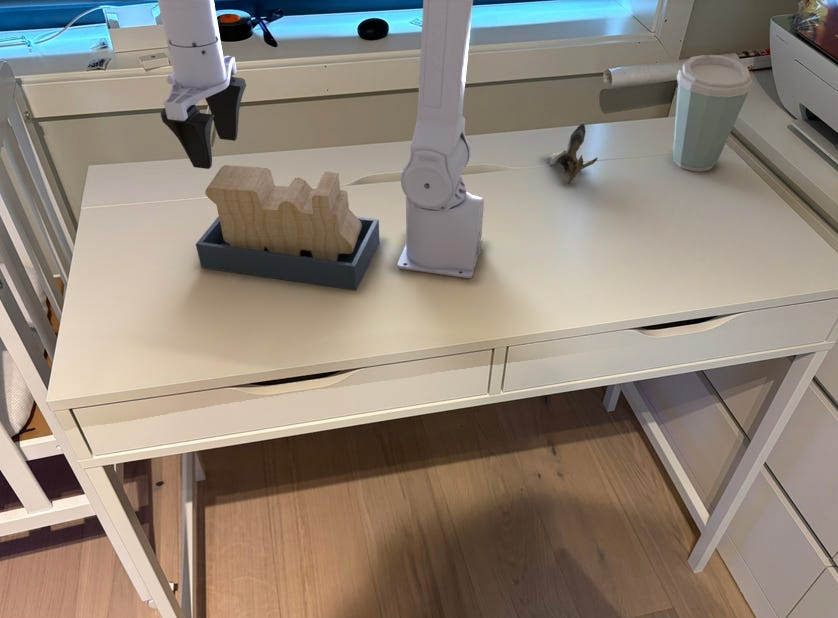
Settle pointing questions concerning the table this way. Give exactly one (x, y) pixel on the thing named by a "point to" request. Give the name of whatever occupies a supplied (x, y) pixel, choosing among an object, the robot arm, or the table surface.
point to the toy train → (283, 213)
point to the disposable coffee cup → (707, 108)
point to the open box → (291, 259)
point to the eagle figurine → (571, 155)
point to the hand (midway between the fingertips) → (215, 152)
